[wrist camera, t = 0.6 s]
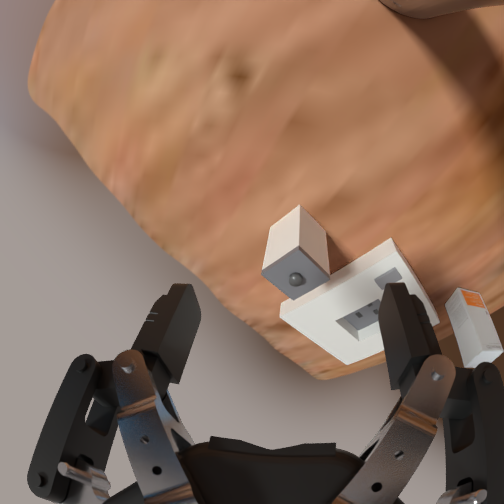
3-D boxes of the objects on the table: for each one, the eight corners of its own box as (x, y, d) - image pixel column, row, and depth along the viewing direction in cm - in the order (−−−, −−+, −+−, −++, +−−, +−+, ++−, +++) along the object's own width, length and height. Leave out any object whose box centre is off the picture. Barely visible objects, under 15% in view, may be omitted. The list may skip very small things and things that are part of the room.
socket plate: (391, 237, 29) (397, 253, 27) (435, 309, 35) (440, 324, 33) (281, 302, 39) (279, 319, 36) (346, 352, 45) (347, 367, 42)
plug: (299, 204, 29) (298, 253, 22) (325, 231, 30) (330, 284, 24) (270, 227, 31) (260, 278, 24) (296, 251, 33) (292, 305, 26)
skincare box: (479, 291, 31) (504, 351, 22) (465, 308, 34) (486, 367, 25) (457, 285, 31) (483, 351, 22) (443, 304, 34) (463, 368, 25)
